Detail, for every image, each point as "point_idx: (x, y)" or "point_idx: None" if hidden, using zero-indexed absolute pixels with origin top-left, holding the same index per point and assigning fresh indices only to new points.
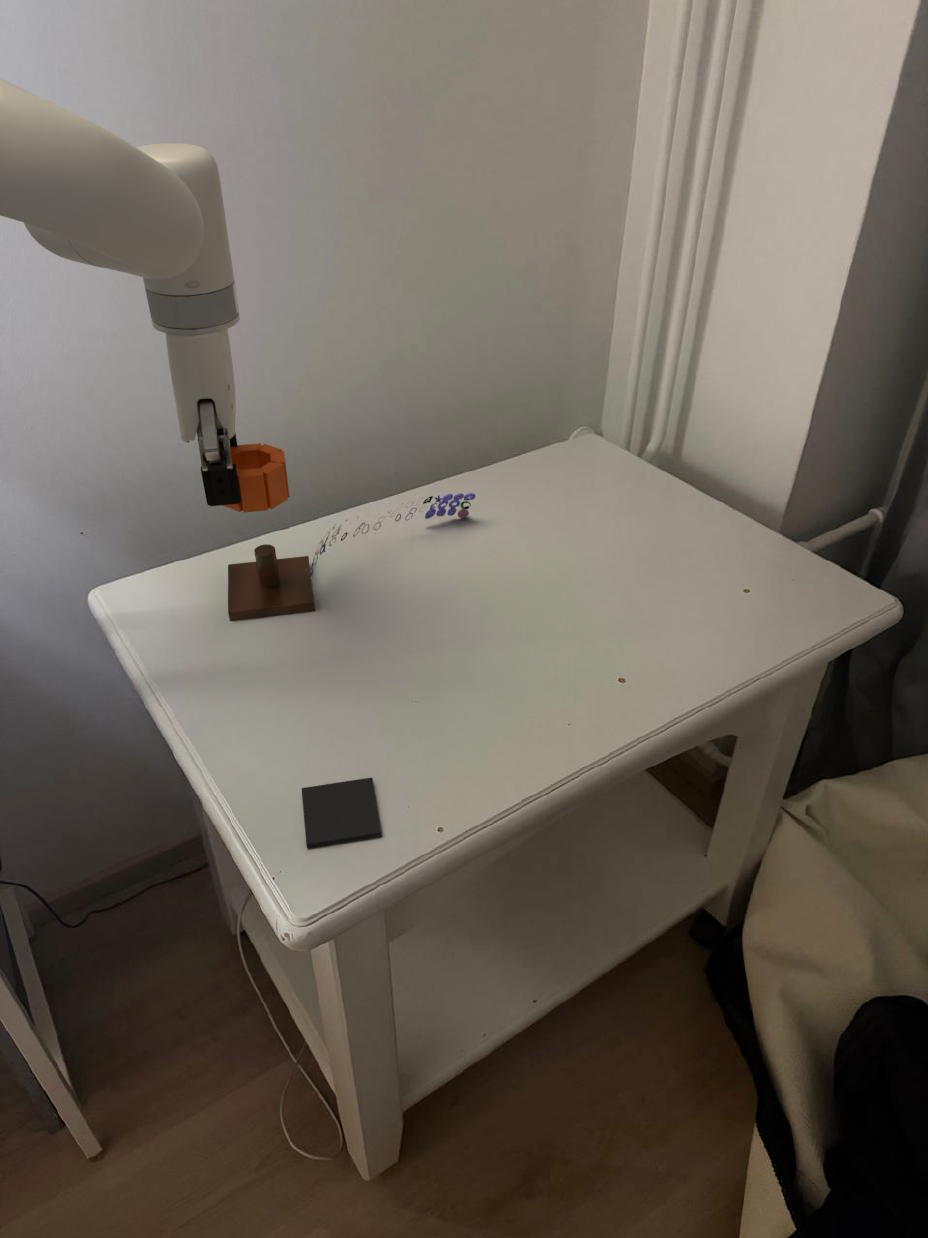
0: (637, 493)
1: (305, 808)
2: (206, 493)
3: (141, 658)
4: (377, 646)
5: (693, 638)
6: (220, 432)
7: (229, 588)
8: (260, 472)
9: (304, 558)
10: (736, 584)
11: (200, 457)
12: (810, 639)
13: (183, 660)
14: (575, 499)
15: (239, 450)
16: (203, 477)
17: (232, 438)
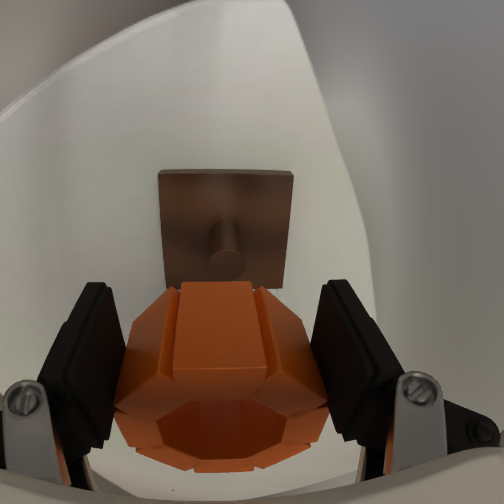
0: (297, 478)
1: None
2: (77, 307)
3: (100, 53)
4: None
5: (126, 469)
6: (361, 419)
7: (223, 175)
8: (137, 445)
9: (276, 283)
10: (179, 489)
11: (3, 429)
12: (129, 490)
13: (85, 111)
14: (306, 459)
15: (292, 414)
16: (54, 351)
17: (336, 422)
